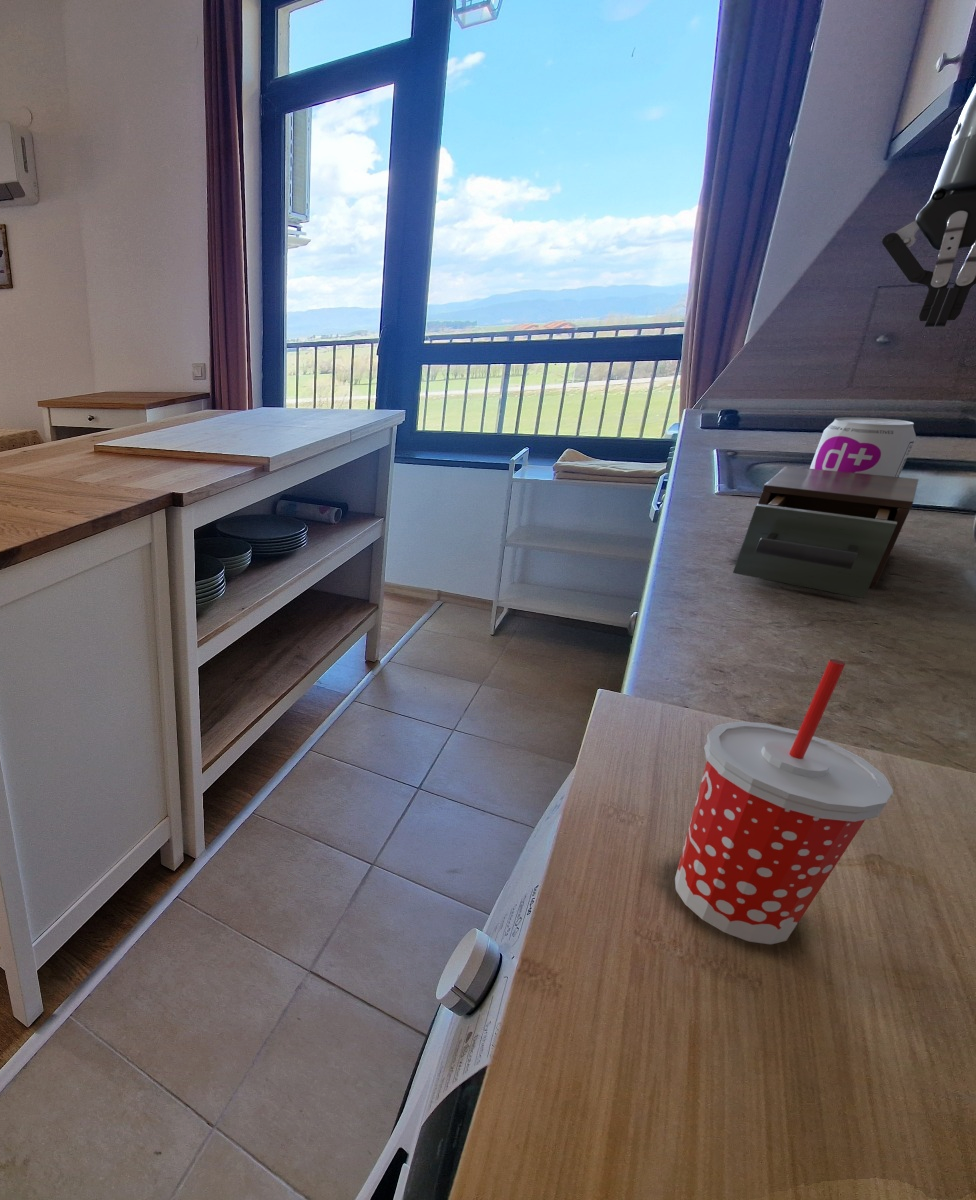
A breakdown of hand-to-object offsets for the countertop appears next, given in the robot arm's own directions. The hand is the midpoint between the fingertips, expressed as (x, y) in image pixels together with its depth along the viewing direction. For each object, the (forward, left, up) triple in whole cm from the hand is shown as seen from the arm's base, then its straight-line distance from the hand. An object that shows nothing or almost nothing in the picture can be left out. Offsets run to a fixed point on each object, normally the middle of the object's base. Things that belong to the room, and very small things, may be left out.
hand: (934, 326), depth 66 cm
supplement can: (-5, -10, -26) cm, 28 cm away
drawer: (+11, +10, -25) cm, 29 cm away
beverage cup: (+44, +58, -26) cm, 78 cm away
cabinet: (+4, +1, -26) cm, 26 cm away
